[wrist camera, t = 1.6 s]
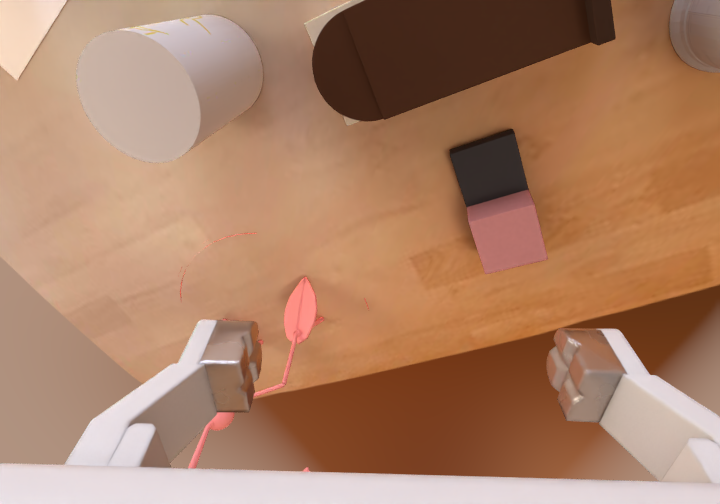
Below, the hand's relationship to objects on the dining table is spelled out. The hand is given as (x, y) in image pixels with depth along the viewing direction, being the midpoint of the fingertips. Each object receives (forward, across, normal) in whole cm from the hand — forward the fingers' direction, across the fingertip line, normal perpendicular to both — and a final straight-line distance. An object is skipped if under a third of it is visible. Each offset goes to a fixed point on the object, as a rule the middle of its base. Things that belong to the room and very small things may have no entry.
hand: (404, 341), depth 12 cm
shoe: (+29, -5, -5) cm, 30 cm away
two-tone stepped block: (+28, -10, +9) cm, 31 cm away
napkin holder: (+34, +35, -8) cm, 50 cm away
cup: (+32, +14, -1) cm, 35 cm away
